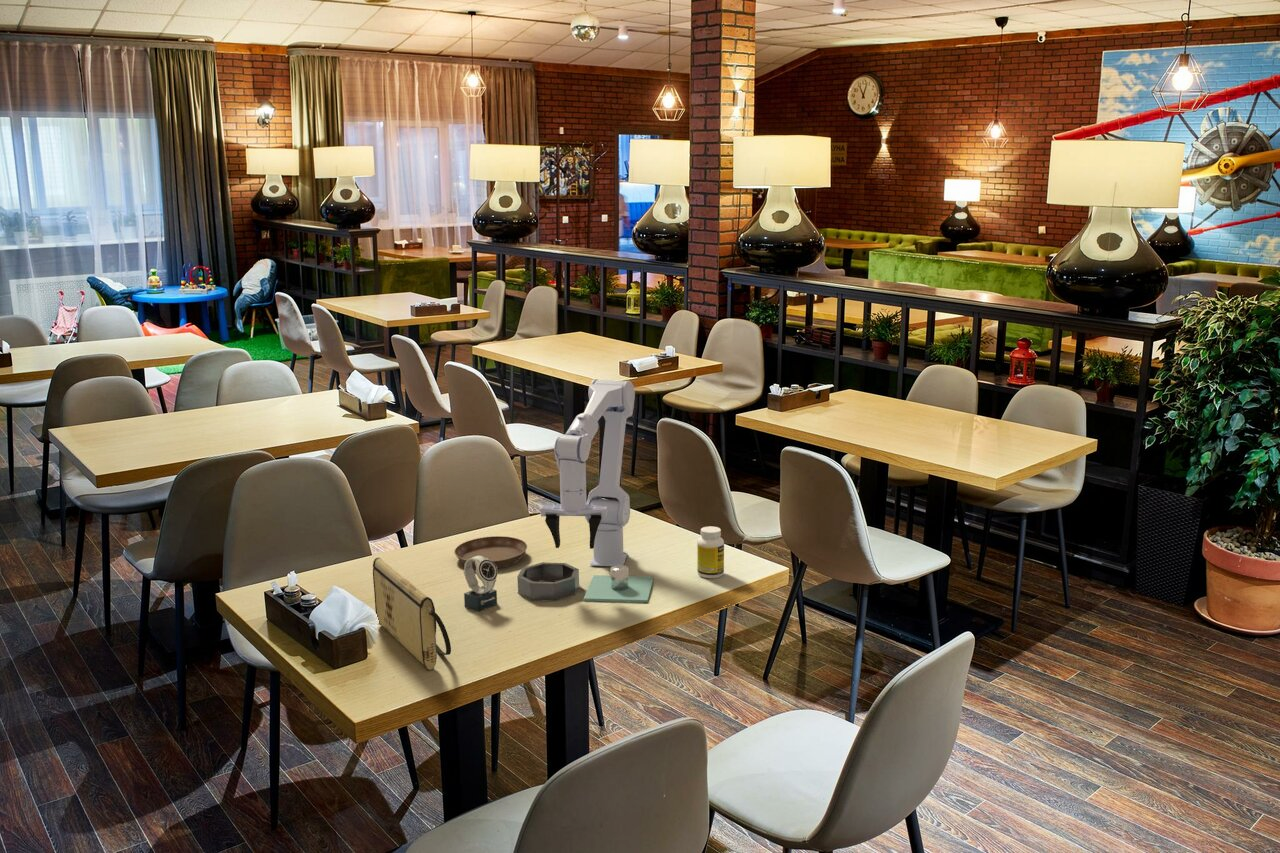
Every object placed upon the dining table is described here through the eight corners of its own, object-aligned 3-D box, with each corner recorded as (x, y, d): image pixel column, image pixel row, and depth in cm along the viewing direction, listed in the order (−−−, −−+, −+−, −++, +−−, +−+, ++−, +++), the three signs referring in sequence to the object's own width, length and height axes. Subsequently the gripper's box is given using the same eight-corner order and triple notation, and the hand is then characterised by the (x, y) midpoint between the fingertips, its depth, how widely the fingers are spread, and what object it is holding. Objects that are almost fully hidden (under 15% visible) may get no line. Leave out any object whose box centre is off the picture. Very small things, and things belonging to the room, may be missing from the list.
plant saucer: (471, 577, 248) (470, 565, 248) (444, 555, 263) (443, 544, 263) (539, 563, 257) (539, 551, 256) (510, 543, 272) (509, 531, 271)
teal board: (593, 577, 247) (593, 575, 246) (653, 579, 245) (653, 576, 245) (584, 600, 233) (583, 598, 233) (647, 602, 232) (647, 600, 231)
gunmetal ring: (526, 578, 247) (526, 562, 246) (582, 579, 245) (581, 563, 245) (514, 599, 234) (513, 582, 233) (572, 601, 233) (571, 584, 232)
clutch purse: (461, 666, 203) (457, 593, 199) (427, 676, 199) (422, 601, 196) (404, 615, 227) (399, 549, 223) (372, 623, 223) (367, 556, 220)
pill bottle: (722, 580, 244) (722, 534, 241) (695, 578, 245) (695, 533, 243) (725, 570, 250) (725, 525, 247) (699, 568, 251) (699, 524, 249)
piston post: (612, 583, 241) (611, 565, 240) (629, 584, 241) (629, 565, 240) (609, 590, 237) (609, 571, 236) (627, 590, 237) (627, 571, 236)
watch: (484, 613, 227) (481, 565, 224) (459, 604, 232) (456, 557, 230) (503, 605, 231) (501, 557, 229) (478, 597, 236) (476, 550, 234)
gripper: (537, 493, 230) (539, 552, 233) (603, 493, 229) (604, 553, 232) (543, 484, 237) (545, 541, 240) (607, 484, 236) (608, 542, 239)
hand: (574, 546), depth 237 cm, fingers open, 7 cm apart
